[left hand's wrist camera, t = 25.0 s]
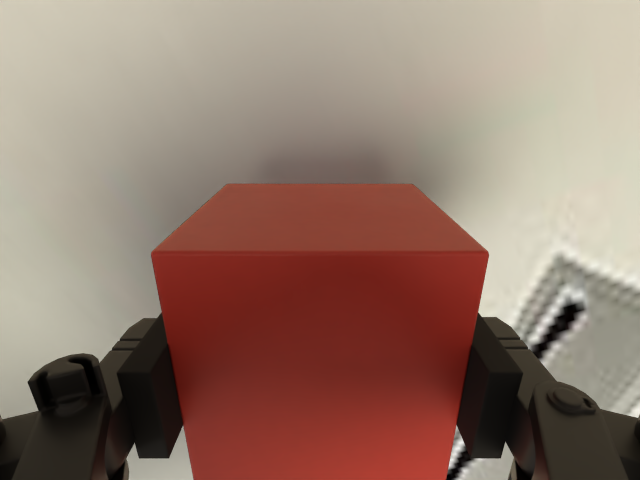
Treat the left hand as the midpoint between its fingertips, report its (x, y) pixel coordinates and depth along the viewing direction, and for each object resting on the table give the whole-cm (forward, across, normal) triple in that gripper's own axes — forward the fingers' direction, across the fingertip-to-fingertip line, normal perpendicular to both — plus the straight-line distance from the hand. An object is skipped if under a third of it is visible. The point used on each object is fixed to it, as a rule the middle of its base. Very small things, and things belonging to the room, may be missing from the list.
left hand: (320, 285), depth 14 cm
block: (+1, 0, 0) cm, 1 cm away
